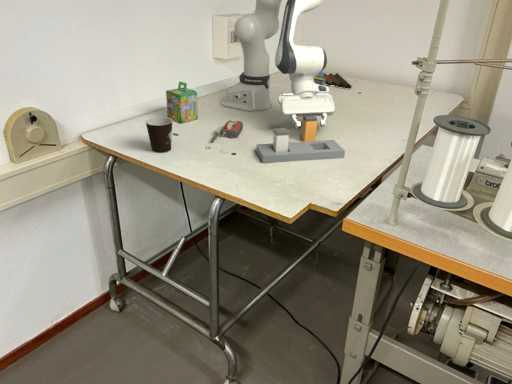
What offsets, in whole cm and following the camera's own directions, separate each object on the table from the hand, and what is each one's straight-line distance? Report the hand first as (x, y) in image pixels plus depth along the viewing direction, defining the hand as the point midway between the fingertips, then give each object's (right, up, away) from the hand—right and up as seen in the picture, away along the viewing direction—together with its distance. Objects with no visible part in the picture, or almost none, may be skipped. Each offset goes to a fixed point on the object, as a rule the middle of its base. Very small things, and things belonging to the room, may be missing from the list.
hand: (310, 126), depth 149 cm
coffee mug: (-51, -9, -7) cm, 52 cm away
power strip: (-5, -11, -9) cm, 15 cm away
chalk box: (-50, +6, +20) cm, 54 cm away
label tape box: (+10, +25, +58) cm, 64 cm away
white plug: (-12, -11, -11) cm, 20 cm away
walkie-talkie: (-31, -3, +6) cm, 31 cm away
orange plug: (-1, -5, +3) cm, 5 cm away
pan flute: (+17, +36, +80) cm, 90 cm away
